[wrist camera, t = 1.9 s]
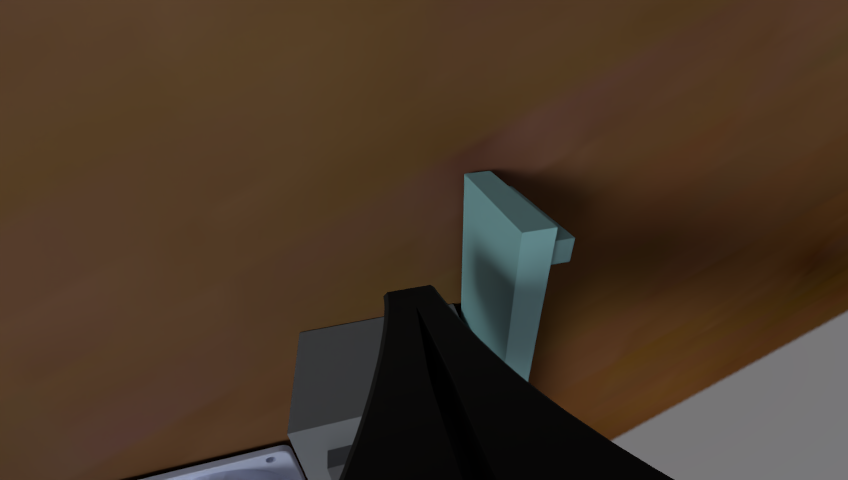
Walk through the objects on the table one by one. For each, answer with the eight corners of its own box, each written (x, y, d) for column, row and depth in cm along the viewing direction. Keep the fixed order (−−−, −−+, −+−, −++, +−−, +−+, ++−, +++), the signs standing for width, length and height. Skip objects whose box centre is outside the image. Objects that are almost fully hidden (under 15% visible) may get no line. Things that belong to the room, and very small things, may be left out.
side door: (485, 409, 21) (521, 498, 17) (456, 417, 20) (485, 509, 16) (508, 167, 13) (588, 225, 9) (460, 172, 12) (520, 236, 8)
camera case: (335, 443, 19) (335, 558, 15) (299, 332, 15) (285, 453, 10) (452, 414, 20) (482, 513, 16) (453, 303, 16) (496, 400, 12)
